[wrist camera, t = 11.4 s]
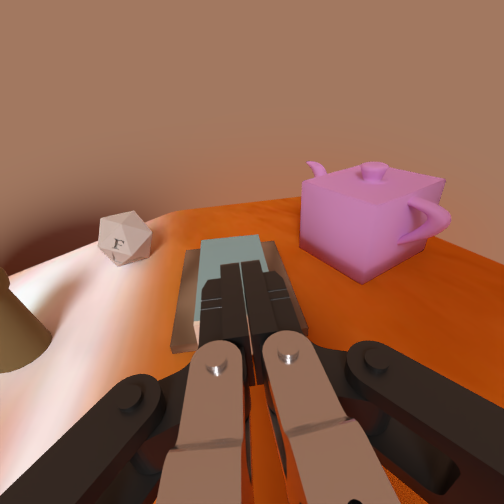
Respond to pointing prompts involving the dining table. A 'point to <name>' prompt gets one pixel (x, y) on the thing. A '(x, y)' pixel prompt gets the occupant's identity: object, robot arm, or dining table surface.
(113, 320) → the dining table surface
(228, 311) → the robot arm
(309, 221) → the teapot
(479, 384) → the dining table surface
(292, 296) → the board
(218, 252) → the pillar
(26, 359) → the cork
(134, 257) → the die
